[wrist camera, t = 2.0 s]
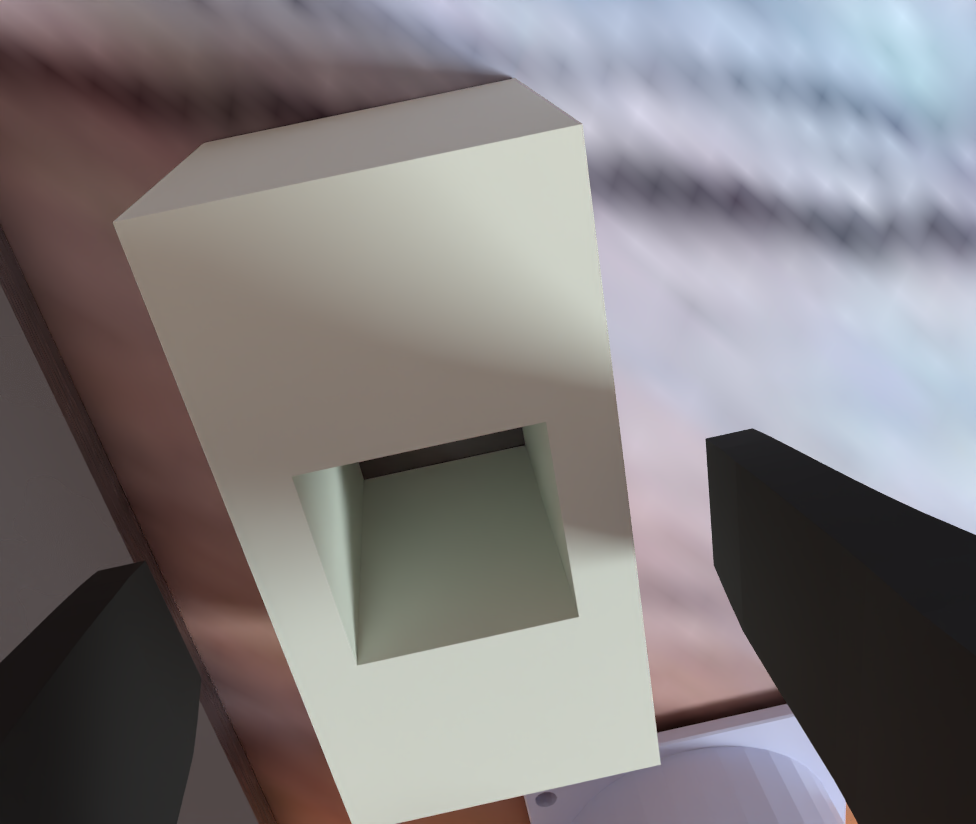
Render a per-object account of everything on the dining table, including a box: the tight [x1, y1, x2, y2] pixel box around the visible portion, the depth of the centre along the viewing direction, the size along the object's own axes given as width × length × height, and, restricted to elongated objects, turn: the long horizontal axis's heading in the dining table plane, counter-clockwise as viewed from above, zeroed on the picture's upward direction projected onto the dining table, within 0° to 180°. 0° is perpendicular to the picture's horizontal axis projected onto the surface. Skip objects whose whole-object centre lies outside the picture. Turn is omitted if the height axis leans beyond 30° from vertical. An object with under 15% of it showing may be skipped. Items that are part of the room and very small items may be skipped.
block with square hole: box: [112, 78, 661, 824], centre depth 13 cm, size 10×5×5 cm, turn 10°
